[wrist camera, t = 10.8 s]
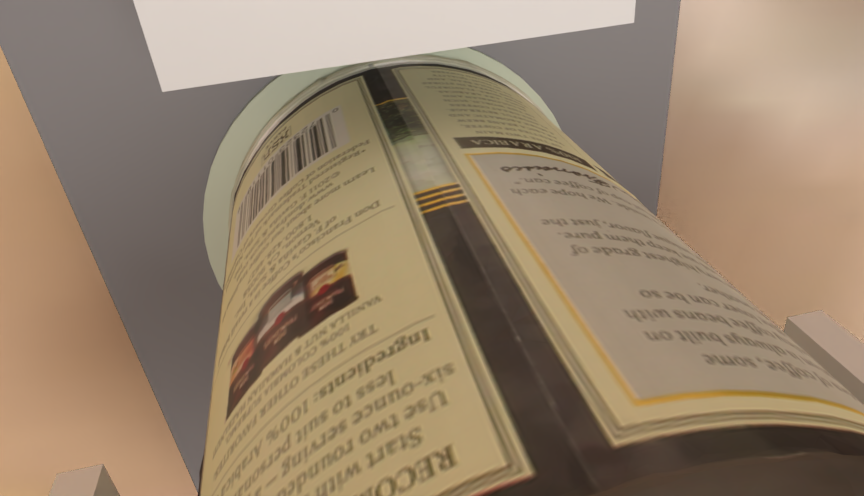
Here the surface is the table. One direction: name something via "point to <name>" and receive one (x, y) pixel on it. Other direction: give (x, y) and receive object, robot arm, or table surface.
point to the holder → (260, 101)
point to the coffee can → (488, 317)
